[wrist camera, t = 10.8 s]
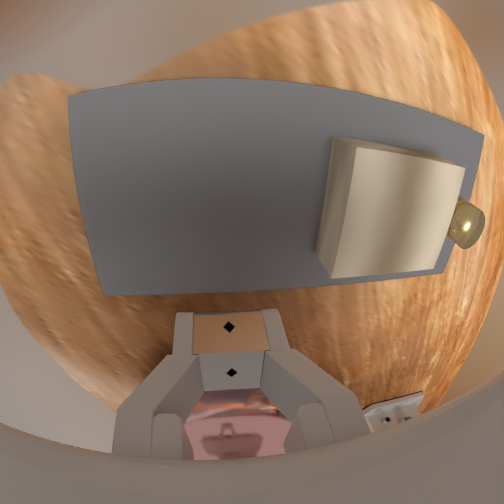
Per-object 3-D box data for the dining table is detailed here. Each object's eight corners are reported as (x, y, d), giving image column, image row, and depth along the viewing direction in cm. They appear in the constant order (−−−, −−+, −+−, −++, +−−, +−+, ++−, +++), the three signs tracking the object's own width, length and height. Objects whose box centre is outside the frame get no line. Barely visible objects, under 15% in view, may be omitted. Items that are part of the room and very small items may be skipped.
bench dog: (456, 189, 18) (489, 211, 15) (446, 223, 20) (475, 248, 17) (432, 185, 18) (467, 208, 14) (422, 223, 19) (452, 249, 16)
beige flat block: (438, 154, 16) (465, 167, 14) (412, 248, 21) (433, 268, 18) (332, 136, 15) (356, 147, 13) (315, 252, 19) (330, 278, 17)
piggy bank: (124, 391, 28) (117, 514, 15) (186, 294, 22) (191, 511, 8) (233, 417, 34) (249, 520, 21) (323, 344, 28) (377, 483, 14)
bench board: (472, 130, 17) (484, 134, 16) (434, 264, 24) (442, 273, 23) (78, 94, 13) (67, 95, 11) (108, 283, 20) (103, 295, 19)
